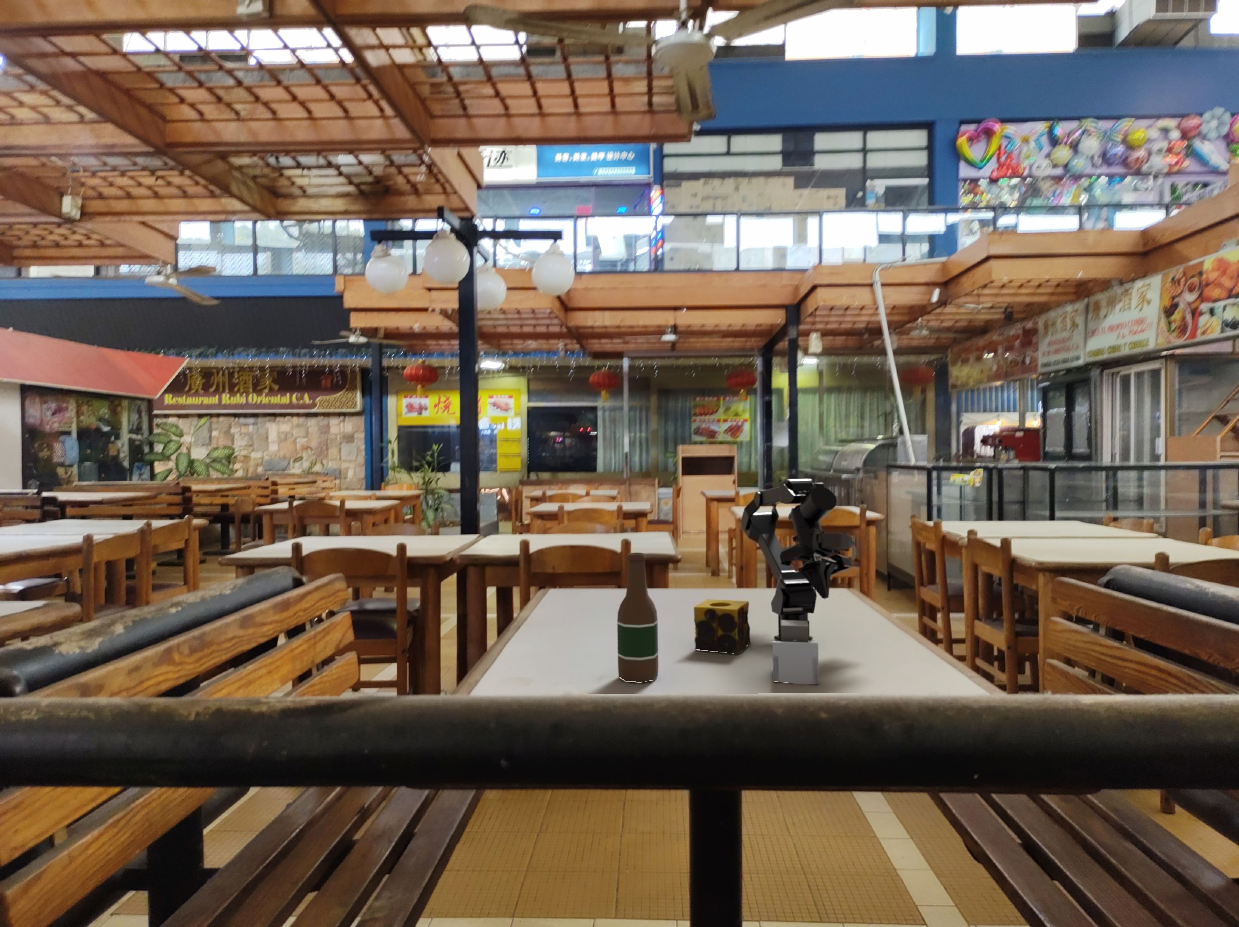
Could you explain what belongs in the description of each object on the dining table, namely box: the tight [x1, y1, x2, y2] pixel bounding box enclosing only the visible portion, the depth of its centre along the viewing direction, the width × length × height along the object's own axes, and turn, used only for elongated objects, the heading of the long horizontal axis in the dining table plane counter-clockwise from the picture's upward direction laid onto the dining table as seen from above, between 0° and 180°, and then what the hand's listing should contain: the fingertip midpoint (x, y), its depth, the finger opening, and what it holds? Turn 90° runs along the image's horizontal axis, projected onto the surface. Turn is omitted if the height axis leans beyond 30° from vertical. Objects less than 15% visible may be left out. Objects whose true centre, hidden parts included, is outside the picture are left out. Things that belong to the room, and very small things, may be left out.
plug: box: [780, 620, 810, 642], centre depth 137 cm, size 6×5×10 cm
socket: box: [772, 640, 820, 685], centre depth 137 cm, size 9×8×8 cm
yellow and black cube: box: [693, 598, 751, 655], centre depth 160 cm, size 10×10×10 cm
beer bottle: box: [616, 552, 659, 682], centre depth 138 cm, size 8×8×24 cm
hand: (825, 598), depth 152 cm, fingers closed
